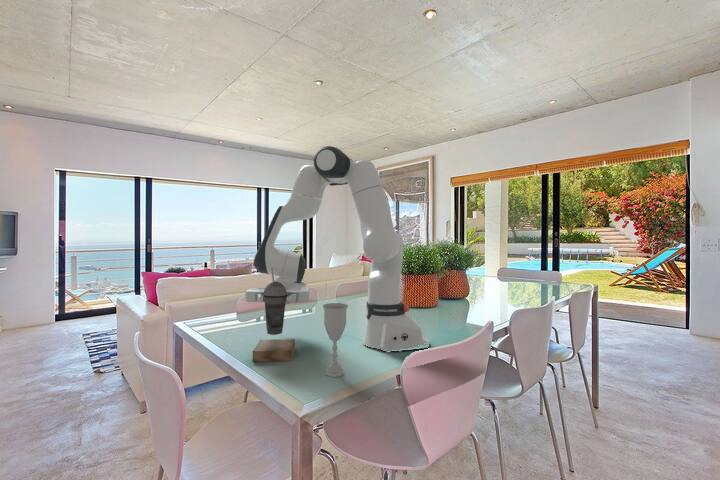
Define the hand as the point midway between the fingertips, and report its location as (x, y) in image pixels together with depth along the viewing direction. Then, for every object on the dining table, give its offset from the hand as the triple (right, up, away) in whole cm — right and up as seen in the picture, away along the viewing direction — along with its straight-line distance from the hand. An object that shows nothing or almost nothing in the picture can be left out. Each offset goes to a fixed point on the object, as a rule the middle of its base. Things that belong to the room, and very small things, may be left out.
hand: (274, 299), depth 104 cm
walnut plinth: (0, -17, +1) cm, 17 cm away
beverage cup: (0, -10, +1) cm, 11 cm away
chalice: (+19, -18, -12) cm, 29 cm away
